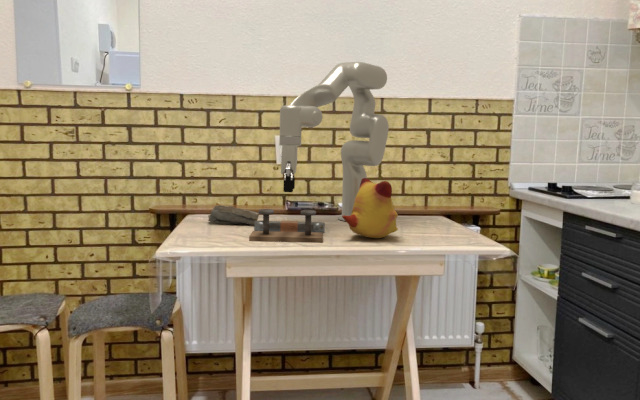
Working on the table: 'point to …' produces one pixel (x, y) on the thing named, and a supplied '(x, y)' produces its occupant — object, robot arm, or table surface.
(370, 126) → the robot arm
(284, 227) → the two-ball handle bar
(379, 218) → the toy
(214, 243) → the table surface
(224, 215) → the rock
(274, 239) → the rack
